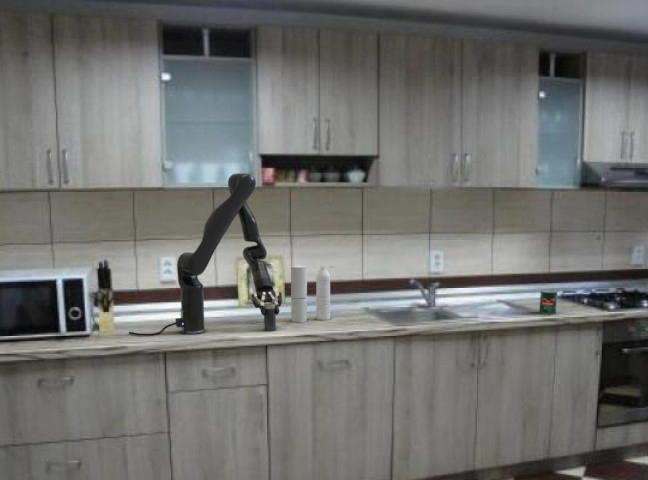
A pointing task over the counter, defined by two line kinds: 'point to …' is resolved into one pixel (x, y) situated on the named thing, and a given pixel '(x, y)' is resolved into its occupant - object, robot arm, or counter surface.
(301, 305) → the cylindrical container
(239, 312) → the counter surface
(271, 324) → the salt shaker
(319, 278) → the water bottle
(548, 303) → the canned tomato
